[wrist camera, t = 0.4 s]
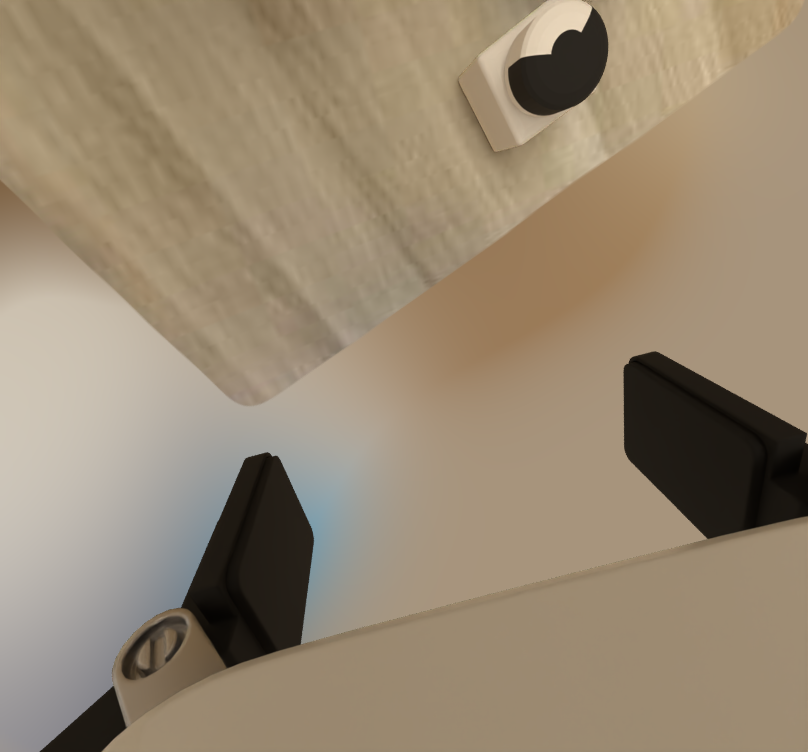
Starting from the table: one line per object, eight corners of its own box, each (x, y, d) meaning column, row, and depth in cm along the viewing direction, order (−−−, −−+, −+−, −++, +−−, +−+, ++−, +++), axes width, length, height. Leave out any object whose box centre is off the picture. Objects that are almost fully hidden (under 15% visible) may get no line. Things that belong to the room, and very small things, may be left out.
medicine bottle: (559, 105, 38) (638, 72, 28) (493, 153, 40) (545, 140, 29) (524, 24, 36) (597, -48, 25) (455, 79, 37) (496, 33, 26)
